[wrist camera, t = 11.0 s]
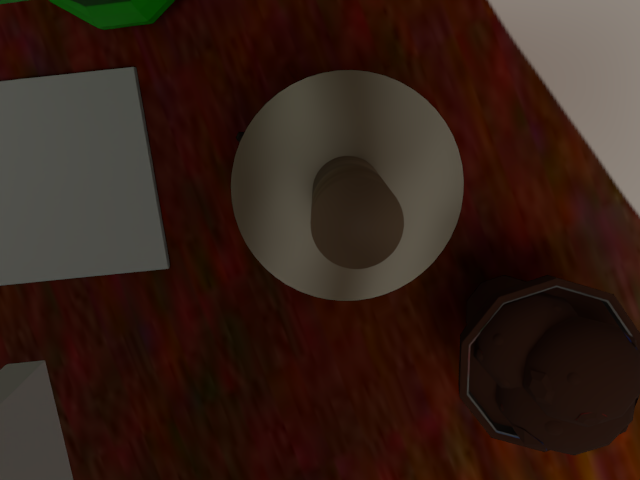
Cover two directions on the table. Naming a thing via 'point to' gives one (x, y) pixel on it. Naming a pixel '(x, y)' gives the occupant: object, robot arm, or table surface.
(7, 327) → the table surface
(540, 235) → the table surface
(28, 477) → the robot arm
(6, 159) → the mat
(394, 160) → the lid
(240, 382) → the table surface
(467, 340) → the ice cream bowl
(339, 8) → the table surface
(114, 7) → the plastic bottle
